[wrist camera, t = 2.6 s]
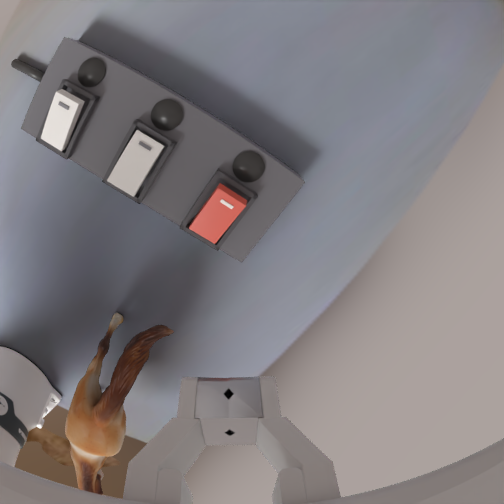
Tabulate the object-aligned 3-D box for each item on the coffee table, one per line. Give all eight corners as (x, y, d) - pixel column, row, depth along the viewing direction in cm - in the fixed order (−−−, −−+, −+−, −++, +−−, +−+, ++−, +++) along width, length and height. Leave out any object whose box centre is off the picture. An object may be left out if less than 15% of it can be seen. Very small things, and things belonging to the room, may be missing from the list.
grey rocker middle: (136, 194, 27) (133, 197, 25) (111, 179, 26) (106, 180, 24) (165, 146, 26) (163, 146, 24) (139, 130, 25) (136, 129, 23)
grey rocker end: (69, 145, 25) (61, 151, 23) (49, 133, 24) (40, 138, 23) (87, 100, 22) (78, 104, 21) (65, 87, 21) (55, 91, 20)
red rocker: (217, 234, 30) (214, 244, 29) (192, 219, 29) (188, 229, 28) (247, 197, 27) (245, 206, 26) (220, 180, 27) (217, 188, 25)
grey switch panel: (240, 248, 34) (242, 267, 31) (-2, 101, 23) (-22, 105, 20) (298, 174, 31) (307, 184, 27) (35, 22, 20) (16, 17, 16)
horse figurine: (118, 412, 48) (98, 510, 30) (80, 396, 46) (51, 492, 28) (181, 299, 37) (155, 458, 19) (122, 271, 35) (57, 421, 16)
